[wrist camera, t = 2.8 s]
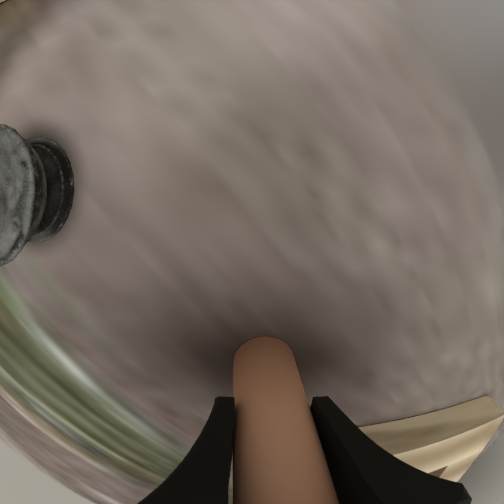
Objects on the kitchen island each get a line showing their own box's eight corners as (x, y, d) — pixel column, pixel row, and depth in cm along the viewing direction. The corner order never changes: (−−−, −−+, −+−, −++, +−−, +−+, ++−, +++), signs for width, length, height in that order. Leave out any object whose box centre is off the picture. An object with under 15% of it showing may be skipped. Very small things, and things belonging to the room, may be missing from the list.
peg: (289, 385, 15) (329, 547, 5) (232, 384, 14) (232, 554, 5) (297, 336, 14) (361, 511, 5) (234, 335, 14) (235, 525, 4)
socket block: (428, 483, 20) (438, 502, 17) (314, 512, 19) (320, 536, 16) (486, 394, 17) (505, 414, 14) (356, 427, 16) (371, 460, 13)
